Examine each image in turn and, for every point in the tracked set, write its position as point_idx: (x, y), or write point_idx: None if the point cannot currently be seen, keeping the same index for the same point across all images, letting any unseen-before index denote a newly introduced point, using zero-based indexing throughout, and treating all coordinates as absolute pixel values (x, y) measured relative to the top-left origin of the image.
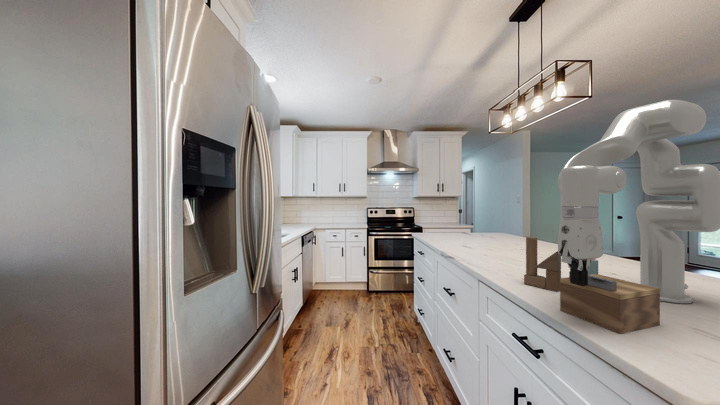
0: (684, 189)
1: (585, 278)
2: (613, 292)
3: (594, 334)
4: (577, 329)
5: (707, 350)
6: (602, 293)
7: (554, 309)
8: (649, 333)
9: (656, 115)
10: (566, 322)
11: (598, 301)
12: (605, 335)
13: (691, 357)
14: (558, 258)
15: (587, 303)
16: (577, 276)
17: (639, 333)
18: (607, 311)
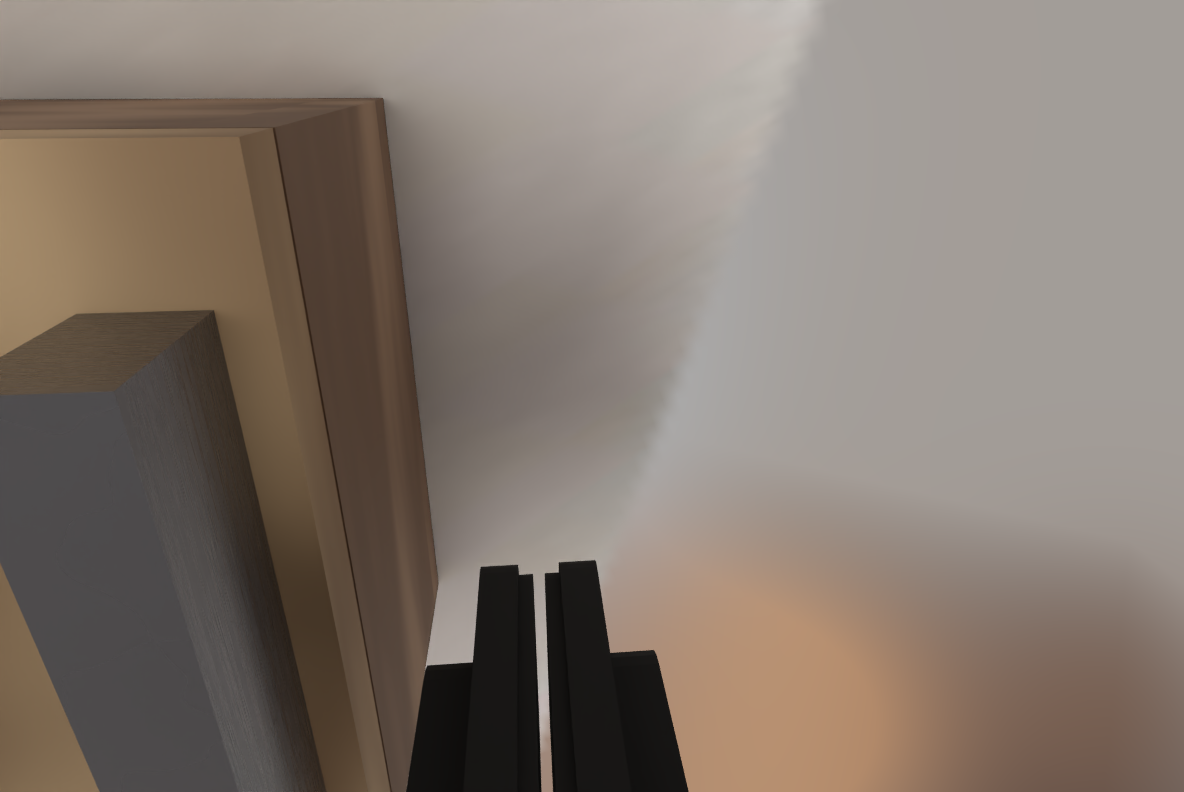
0: None
1: (529, 667)
2: (222, 281)
3: (639, 172)
4: (682, 285)
5: None
6: (315, 395)
7: (466, 607)
8: (33, 5)
9: None
10: (631, 405)
11: (353, 386)
12: (560, 126)
13: None
14: None
15: (384, 465)
16: (672, 738)
17: (154, 42)
18: (357, 256)
